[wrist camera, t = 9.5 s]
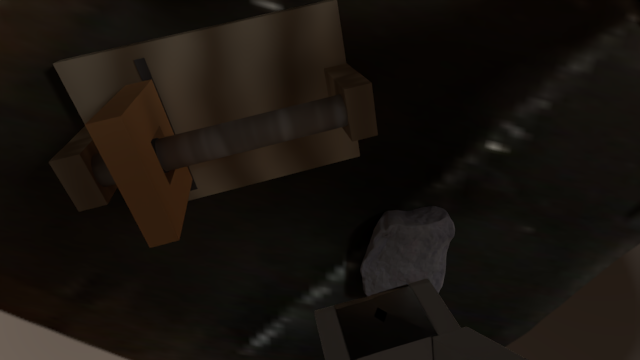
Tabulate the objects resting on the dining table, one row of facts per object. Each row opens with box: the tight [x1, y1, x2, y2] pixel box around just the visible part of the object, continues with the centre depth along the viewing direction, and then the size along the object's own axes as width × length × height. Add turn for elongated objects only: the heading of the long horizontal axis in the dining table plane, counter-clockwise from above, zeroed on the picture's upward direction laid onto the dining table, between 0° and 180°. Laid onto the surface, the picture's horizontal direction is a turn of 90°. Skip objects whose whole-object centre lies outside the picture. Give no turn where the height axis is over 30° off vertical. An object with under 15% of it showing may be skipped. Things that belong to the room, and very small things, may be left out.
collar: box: [85, 79, 193, 248], centre depth 27 cm, size 2×9×9 cm, turn 11°
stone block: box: [360, 206, 455, 296], centre depth 44 cm, size 12×5×10 cm
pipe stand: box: [49, 0, 378, 212], centre depth 30 cm, size 22×14×8 cm, turn 101°
